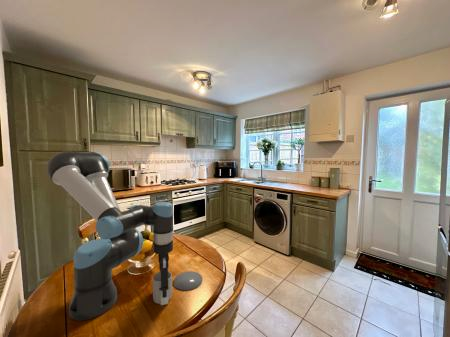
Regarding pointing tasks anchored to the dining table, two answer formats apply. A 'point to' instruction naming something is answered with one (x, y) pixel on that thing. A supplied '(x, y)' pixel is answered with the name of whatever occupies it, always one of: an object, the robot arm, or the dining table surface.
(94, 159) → the robot arm
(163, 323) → the dining table surface
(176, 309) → the dining table surface
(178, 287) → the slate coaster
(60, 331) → the dining table surface
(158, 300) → the cup
